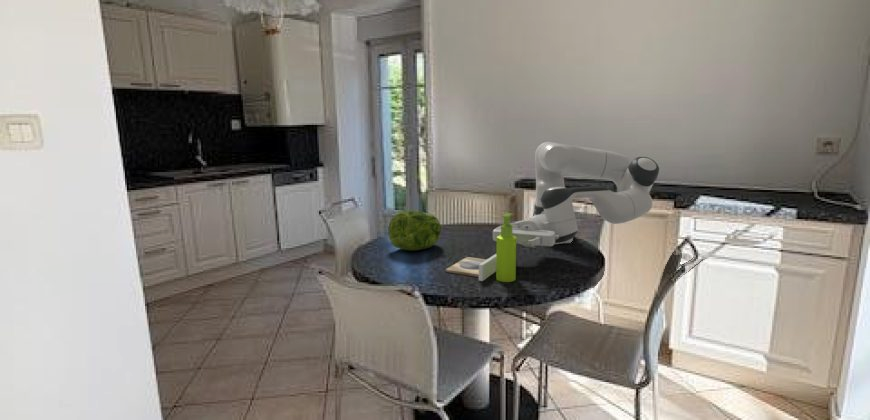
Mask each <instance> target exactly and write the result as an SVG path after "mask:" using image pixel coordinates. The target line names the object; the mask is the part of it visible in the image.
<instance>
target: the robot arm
mask: <svg viewBox="0 0 870 420" xmlns="http://www.w3.org/2000/svg"><path fill="white" fill-rule="evenodd" d="M534 172H535V175H534V176H535V204H534V208H533V212H534V215H532V216H531V217H529V218H528V219H527V218H526V219H522V220H516V221H515V220H514V221H510V224H511V225H512V236H515V237H516V244H517V245H518V244H520V245H523V246H525V247H528V248H531V247H532V248H533V247H535V246H541V247H553V246H554V245H559V244H572V243H573V242H572V241H574V237H575V236H576V235H577V234H578V231H579V228H578V224H577V223H578V221H577V217H576V216H575V209H574V205H573V200H575V199H588V200H589V201H590V202H591V203H592V205H593V207H594V208H595V210H596V211H597V213H598V216H600V217H601V218H602V219H603V220H604V221H606V222H608V223H610V224H613V225H617V224H624V223H628V222H631V221H633V220H636V219H638V218H640V217H643V216H644V215H646V214H647V213H649V212H650V211H651V210H652V207H653V198H652V196H651V195H650V192H651V191H652V188H653V186H654V184H655V181H656V180H657V179H658V176H659V173H660V167H659V165H658V163H657V162H656V161H655V160H653V159H652V158H650V157H647V156H638V157H635V158H634V159H633V160H632V161H631V160H630V158H629V156H627V155H625V154H622V153H619V152H615V151H610V150H605V149H601V148H594V147H593V148H592V147H586V146H579V145H571V144H565V143H558V142H554V141H545V142H542V143H541V144H539V145H538V146H537V147H536V150H535V153H534ZM564 175H572V176H573V175H574V176H581V177H587V178H588V177H589V178H595V179H601V180H602V179H603V180H610V181H611V182H613V183H614V185H612V187H611V189H612V190H611V189H610V188H609V187H607V186H601V185H600V186H577V187H576V186H575V187H574V186H573V187H566V185H565V178H564ZM499 235H501V225H499V226H497V227H496V228H494V229H493V230H492V240H493V242H497V236H499ZM571 242H572V243H571Z"/></svg>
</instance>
